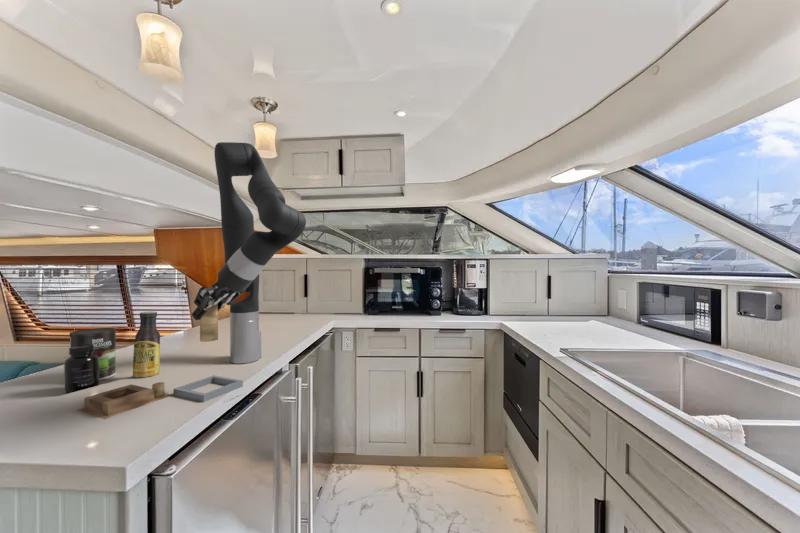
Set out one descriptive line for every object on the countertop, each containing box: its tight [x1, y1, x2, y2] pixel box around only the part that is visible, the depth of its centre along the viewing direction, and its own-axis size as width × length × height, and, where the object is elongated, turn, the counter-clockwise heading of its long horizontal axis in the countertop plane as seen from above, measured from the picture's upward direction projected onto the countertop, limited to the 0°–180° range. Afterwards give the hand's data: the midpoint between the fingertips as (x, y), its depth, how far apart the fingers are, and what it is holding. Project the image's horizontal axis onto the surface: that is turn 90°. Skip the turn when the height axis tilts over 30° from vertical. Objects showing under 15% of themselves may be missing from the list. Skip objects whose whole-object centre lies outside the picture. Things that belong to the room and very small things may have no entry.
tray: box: [172, 375, 244, 403], centre depth 86 cm, size 11×11×3 cm
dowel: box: [199, 296, 219, 343], centre depth 86 cm, size 4×4×13 cm
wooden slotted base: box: [77, 381, 173, 420], centre depth 79 cm, size 14×11×4 cm
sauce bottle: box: [132, 310, 161, 379], centre depth 99 cm, size 7×6×20 cm
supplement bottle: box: [63, 344, 100, 395], centre depth 90 cm, size 7×7×12 cm
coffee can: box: [69, 327, 117, 382], centre depth 101 cm, size 10×10×14 cm
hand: (202, 316), depth 86 cm, fingers closed on dowel, 4 cm apart
